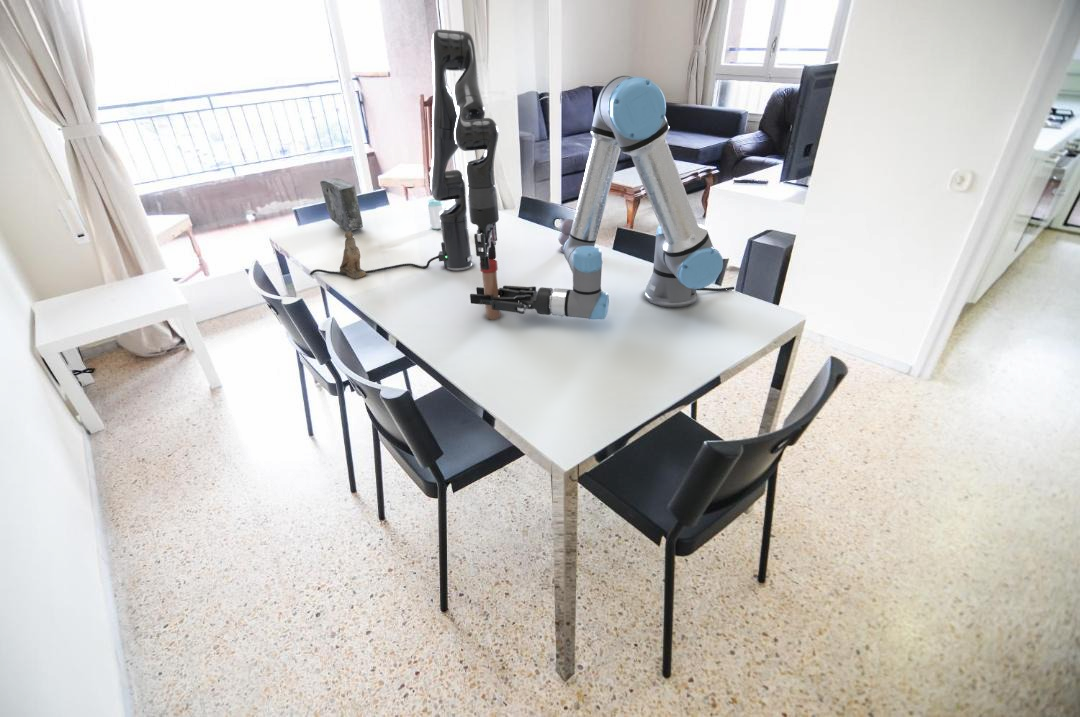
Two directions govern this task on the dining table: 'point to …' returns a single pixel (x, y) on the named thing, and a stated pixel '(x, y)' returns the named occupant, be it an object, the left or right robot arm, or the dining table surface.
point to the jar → (491, 292)
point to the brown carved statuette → (351, 258)
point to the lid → (490, 267)
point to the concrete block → (342, 203)
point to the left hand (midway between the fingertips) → (488, 263)
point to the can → (435, 213)
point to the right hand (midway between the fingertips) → (474, 295)
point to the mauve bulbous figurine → (565, 231)
